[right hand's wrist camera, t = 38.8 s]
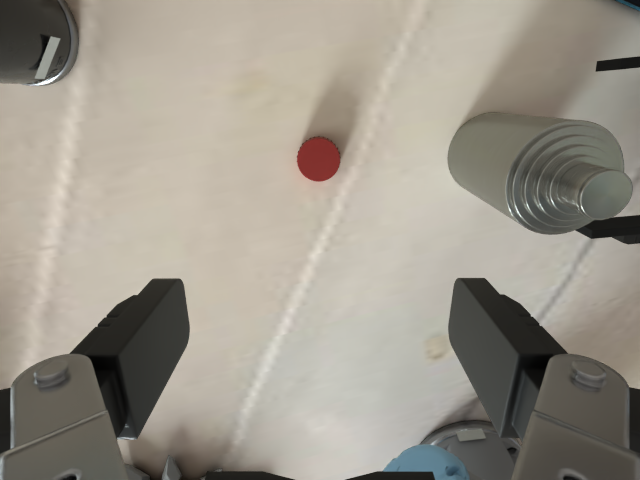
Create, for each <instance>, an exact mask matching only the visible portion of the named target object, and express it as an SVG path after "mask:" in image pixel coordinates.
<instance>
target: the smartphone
mask: <svg viewBox="0 0 640 480" xmlns="http://www.w3.org/2000/svg"><path fill="white" fill-rule="evenodd" d="M616 1H618V2H620V3H623V4H625V5H627V6H629V7H632V8H634V9H636V10H639V11H640V0H616Z"/></svg>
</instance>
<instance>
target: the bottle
mask: <svg viewBox="0 0 640 480" xmlns="http://www.w3.org/2000/svg"><path fill="white" fill-rule="evenodd" d="M448 166H449V170H450V173H451V175H452V177H453V178H454V180H455V181H456V182H457V183H458V184H459V185H460V186H461V187H463V188H464V189H466V190H467V191H469V192H471V193H472V194H474V195H475V196H477V197H478V198H480V199H481V200H483V201H485V202H486V203H488V204H489V205H491V206H492V207H494V208H496V209H497V210H499V211H500V212H502V213H503V214H505V215H506V216H508V217H510V218H511V219H513V220H514V221H516V222H517V223H519V224H520V225H522V226H524V227H525V228H527V229H529V230H531V231H534V232H536V233H541V234H548V235H552V234H563V233H567V232H571V231H574V230H576V229H579V228H581V227H583V226H585V225H587V224H589V223H590V222H592V221H593V220H604V219H609V218H611V217H613V216H616V215H617V214H618V213H620V212H621V210H623V209H624V207H625V206H626V205H627V204H628V202H629V200H630V198H631V195H632V182H631V180H630V178H629V177H628V176H627V175H626V174H625V173H624V160H623V154H622V151H621V148H620V145H619V143H618V142H617V140H616V139H615V137H614V136H613V135H612V134H611V133H610V132H609V131H608V130H607V129H605V128H604V127H602V126H600V125H598V124H596V123H593V122H589V121H582V120H572V119H561V118H551V117H540V116H529V115H519V114H508V113H497V112H490V113H484V114H481V115H478V116H476V117H474V118H472V119H470V120H469V121H468V122H466V123H465V124H464V125H463V126H462V127H461V128H460V129H459V130H458V131H457V133H456V134H455V136H454V137H453V139H452V141H451V144H450V147H449V151H448Z"/></svg>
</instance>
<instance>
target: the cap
mask: <svg viewBox="0 0 640 480" xmlns="http://www.w3.org/2000/svg"><path fill="white" fill-rule="evenodd" d="M339 154H340V153H339V152H338V148H337V147H336V146H335V144H334V143H333V142H332V141H330V140H329V139H328V138H327V139H326V138H324V137H314V138H310V139H309V140H306V142H305V143H303V144H302V146H301V147H300V150H299V151H298V155H297V163H298V167H299V169H300V171H301V173H302V174H303V175H304V176H305V177H306V178H308V179H310V180H313V181H325V180H327V179H329V178H331V177H332V176H333V175H334V174H335V173H336V172H337V170H338V168H339V164H340V156H339Z"/></svg>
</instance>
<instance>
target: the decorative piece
mask: <svg viewBox="0 0 640 480" xmlns="http://www.w3.org/2000/svg"><path fill="white" fill-rule="evenodd" d="M124 465H125V468H126V471H127V474H128V478H129V480H150V476H149V475H147V474H146V473H144V472H142V471H140V470H138V469H137V468H135V467H133V466H131V465H127V464H124ZM213 472H222V469H217V470H215V471H213ZM181 476H182V474H181V472H180V470H179V468H178V467H177V465H176V463H175V461H174V459H173V457H171V456H170V455H169V456H168V459H167V462H166V465H165V468H164V472H163V475H162V480H180V478H181ZM205 477H206V476H204V477H202V478H200V480H205Z"/></svg>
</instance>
